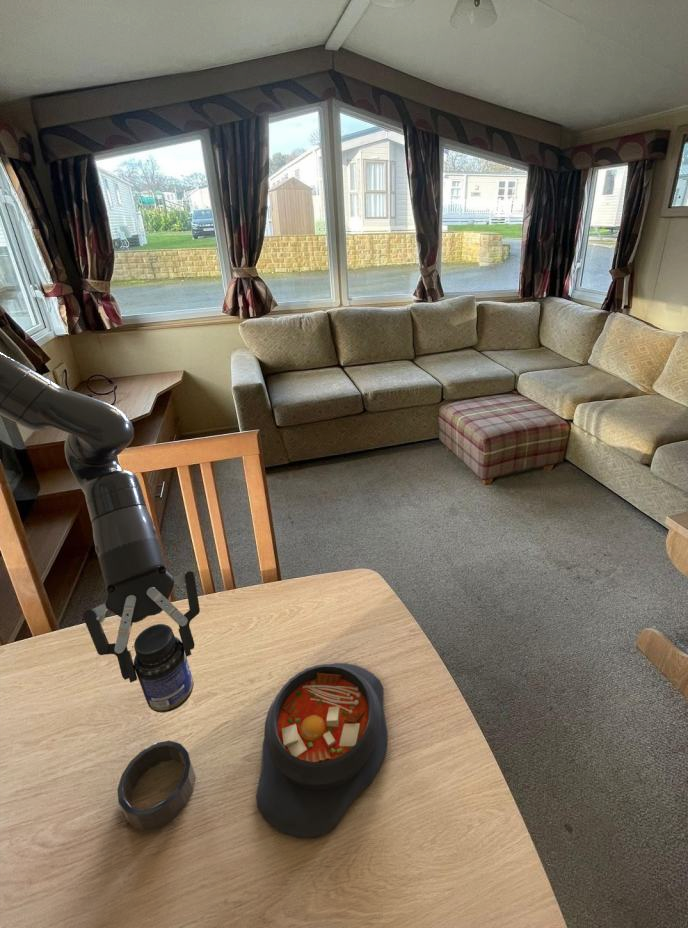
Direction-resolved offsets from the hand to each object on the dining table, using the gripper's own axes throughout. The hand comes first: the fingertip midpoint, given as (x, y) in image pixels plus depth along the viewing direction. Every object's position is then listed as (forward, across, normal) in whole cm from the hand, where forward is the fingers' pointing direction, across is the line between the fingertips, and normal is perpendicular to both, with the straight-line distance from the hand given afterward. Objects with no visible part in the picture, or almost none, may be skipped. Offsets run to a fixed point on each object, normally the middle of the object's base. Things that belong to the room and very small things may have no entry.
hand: (161, 667), depth 63 cm
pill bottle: (+4, 0, -6) cm, 8 cm away
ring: (+16, +4, -12) cm, 21 cm away
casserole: (+21, -18, -8) cm, 29 cm away
